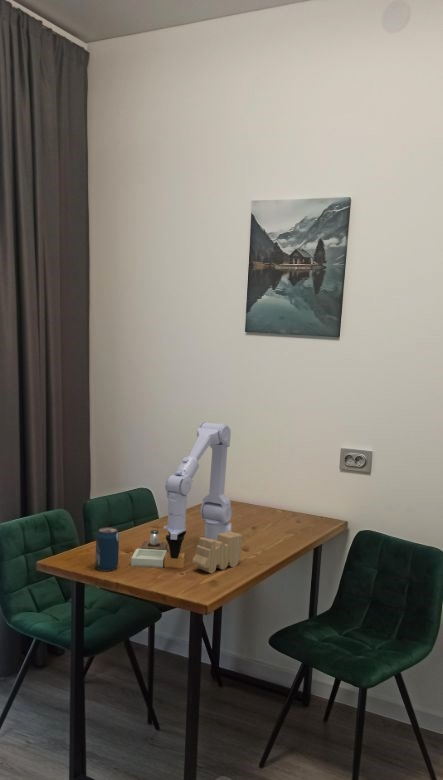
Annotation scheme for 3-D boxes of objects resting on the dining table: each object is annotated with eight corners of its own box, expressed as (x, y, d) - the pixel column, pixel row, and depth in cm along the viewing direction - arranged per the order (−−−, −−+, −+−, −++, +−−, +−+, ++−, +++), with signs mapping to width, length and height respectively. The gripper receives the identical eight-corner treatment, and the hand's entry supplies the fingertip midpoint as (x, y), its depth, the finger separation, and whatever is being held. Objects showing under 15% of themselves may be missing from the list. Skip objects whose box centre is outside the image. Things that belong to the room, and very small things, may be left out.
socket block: (167, 549, 219) (167, 542, 219) (164, 556, 211) (164, 549, 211) (143, 548, 220) (144, 540, 220) (139, 555, 212) (140, 547, 212)
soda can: (121, 566, 200) (123, 528, 200) (111, 573, 194) (112, 533, 193) (102, 563, 202) (103, 525, 202) (90, 569, 196) (92, 531, 195)
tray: (166, 557, 210) (167, 550, 210) (162, 567, 200) (163, 559, 200) (136, 556, 211) (136, 548, 211) (130, 566, 201) (131, 558, 201)
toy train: (191, 571, 199) (192, 539, 198) (230, 560, 211) (231, 530, 210) (203, 575, 195) (205, 543, 194) (242, 564, 207) (243, 534, 206)
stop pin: (158, 551, 217) (158, 530, 216) (157, 553, 214) (157, 532, 214) (150, 550, 217) (151, 529, 217) (149, 553, 214) (150, 531, 214)
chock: (184, 564, 205) (184, 553, 205) (183, 568, 201) (183, 557, 201) (165, 563, 205) (166, 552, 205) (164, 567, 201) (164, 556, 201)
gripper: (167, 507, 210) (165, 548, 210) (161, 518, 195) (159, 562, 196) (188, 508, 210) (187, 549, 210) (184, 519, 195) (182, 563, 196)
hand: (175, 555), depth 203 cm, fingers closed on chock, 4 cm apart
